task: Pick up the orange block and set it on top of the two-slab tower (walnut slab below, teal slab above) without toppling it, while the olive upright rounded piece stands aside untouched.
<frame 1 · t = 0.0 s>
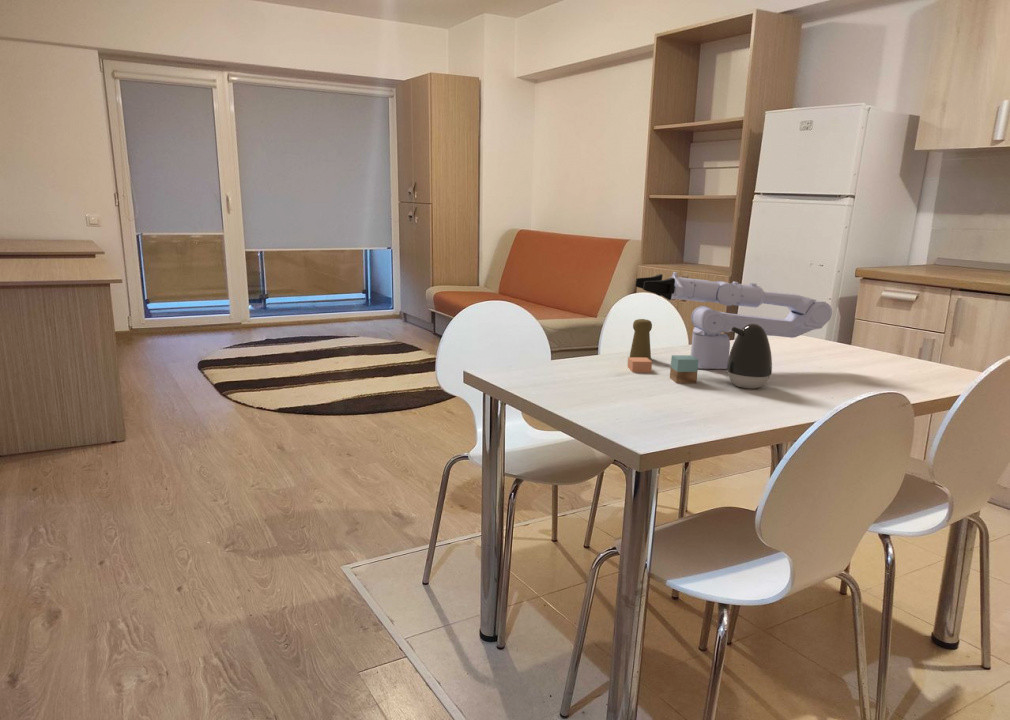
hand: (639, 284, 180), 22 cm above the table, tool horizontal, fingers open, 7 cm apart
teal slab: (683, 369, 169), point 3 cm above the table, touching walnut slab
walnut slab: (682, 381, 170), on the table, touching teal slab
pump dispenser: (746, 387, 166), on the table
olive upright rounded piece: (640, 359, 194), on the table
orange block: (639, 370, 180), on the table
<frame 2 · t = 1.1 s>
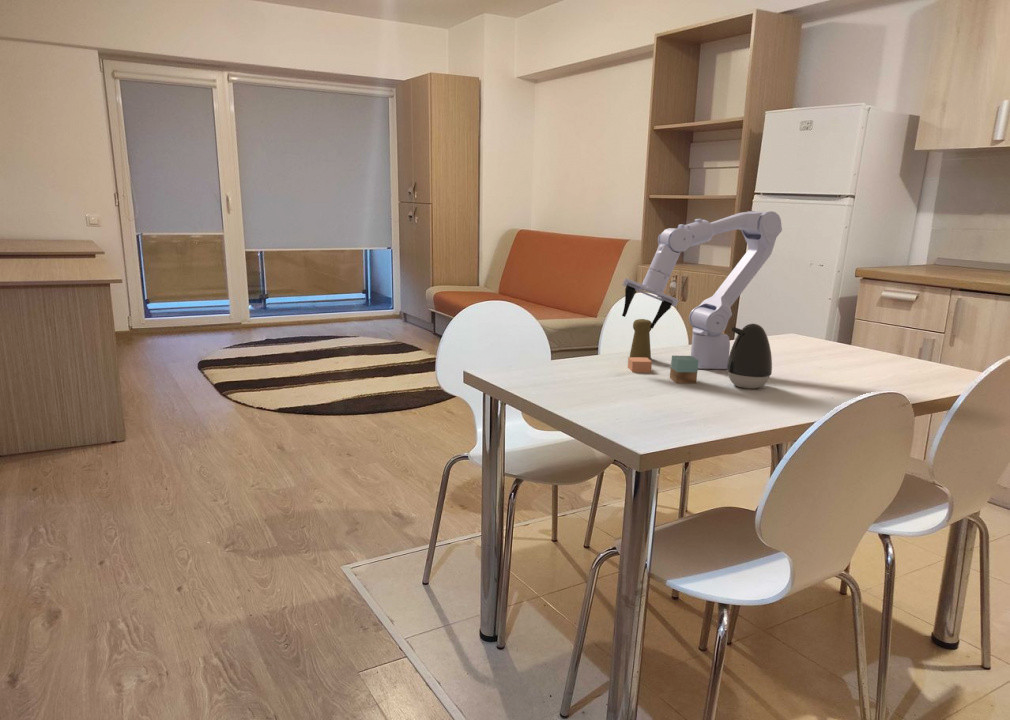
hand: (637, 322, 178), 12 cm above the table, tool tilted 20°, fingers open, 7 cm apart
nothing on the table moved.
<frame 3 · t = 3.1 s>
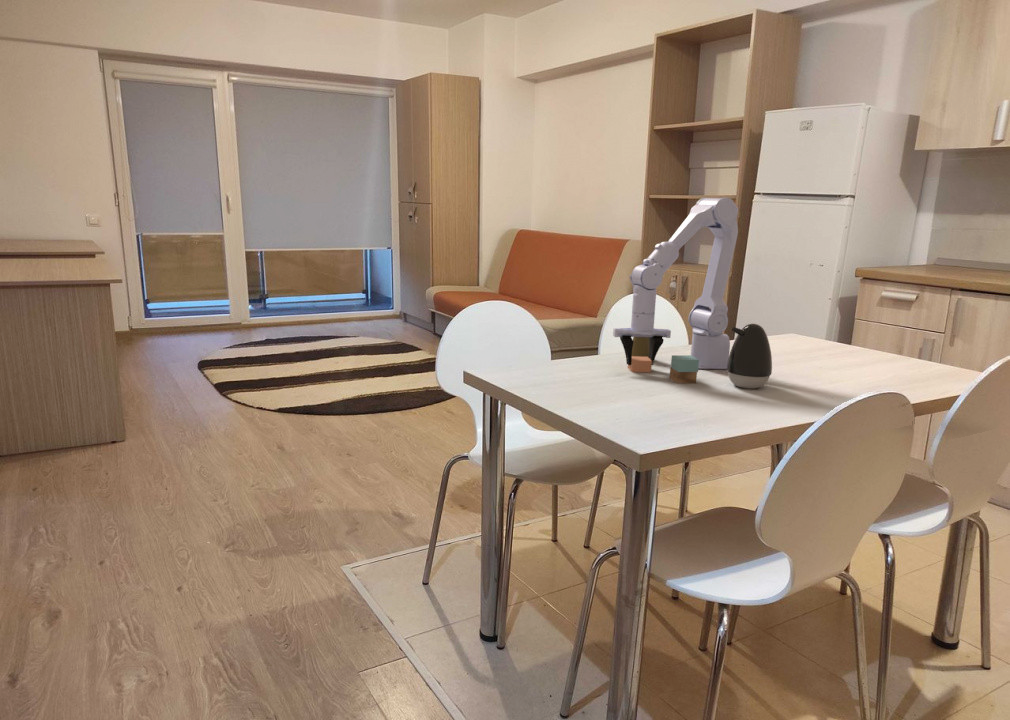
hand: (639, 364, 180), 1 cm above the table, tool pointing down, fingers closed on orange block, 5 cm apart
orange block: (639, 369, 180), on the table, touching gripper
everything else where it was.
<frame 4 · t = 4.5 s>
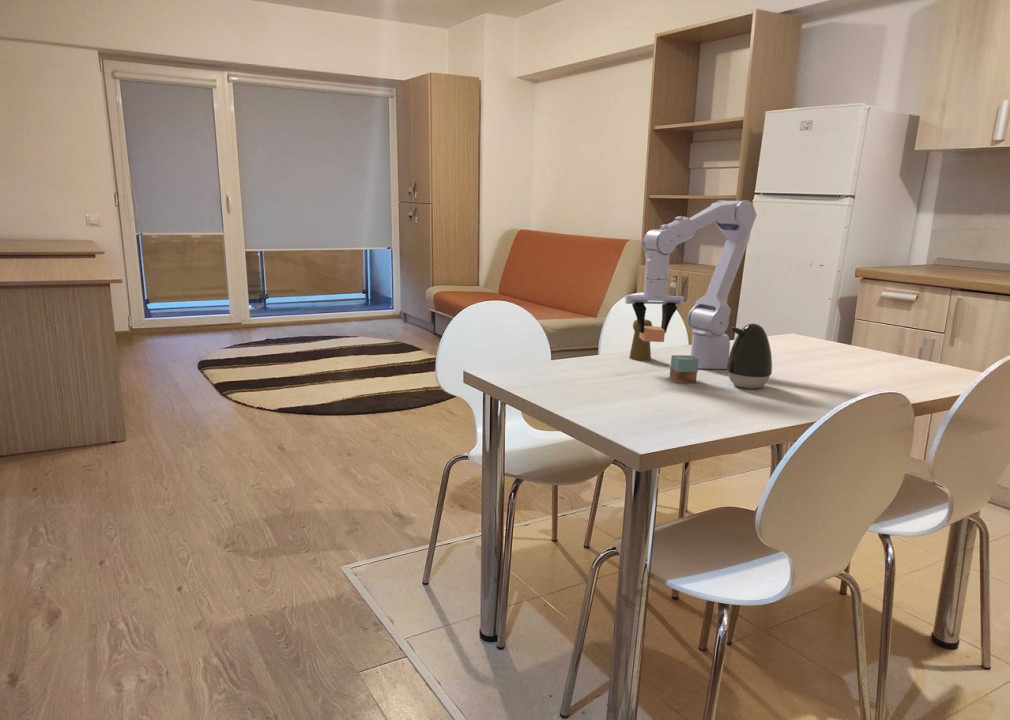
hand: (652, 332, 175), 10 cm above the table, tool pointing down, fingers closed on orange block, 5 cm apart
orange block: (651, 339, 176), point 8 cm above the table, touching gripper
everything else where it was.
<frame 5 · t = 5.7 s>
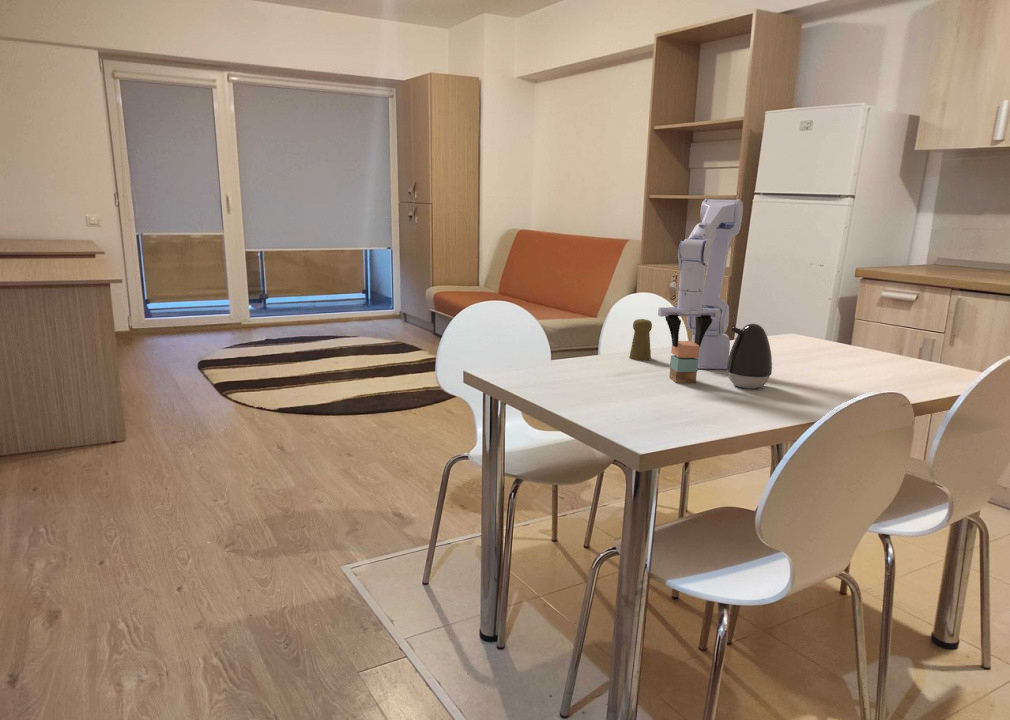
hand: (686, 346, 168), 9 cm above the table, tool pointing down, fingers closed on orange block, 5 cm apart
teal slab: (683, 369, 169), point 3 cm above the table
walnut slab: (682, 381, 170), on the table
orange block: (684, 355, 169), point 6 cm above the table, touching gripper
everything else where it was.
when the fingers open (9 cm above the table, at t = 5.8 s): orange block stays where it is, resting on teal slab.
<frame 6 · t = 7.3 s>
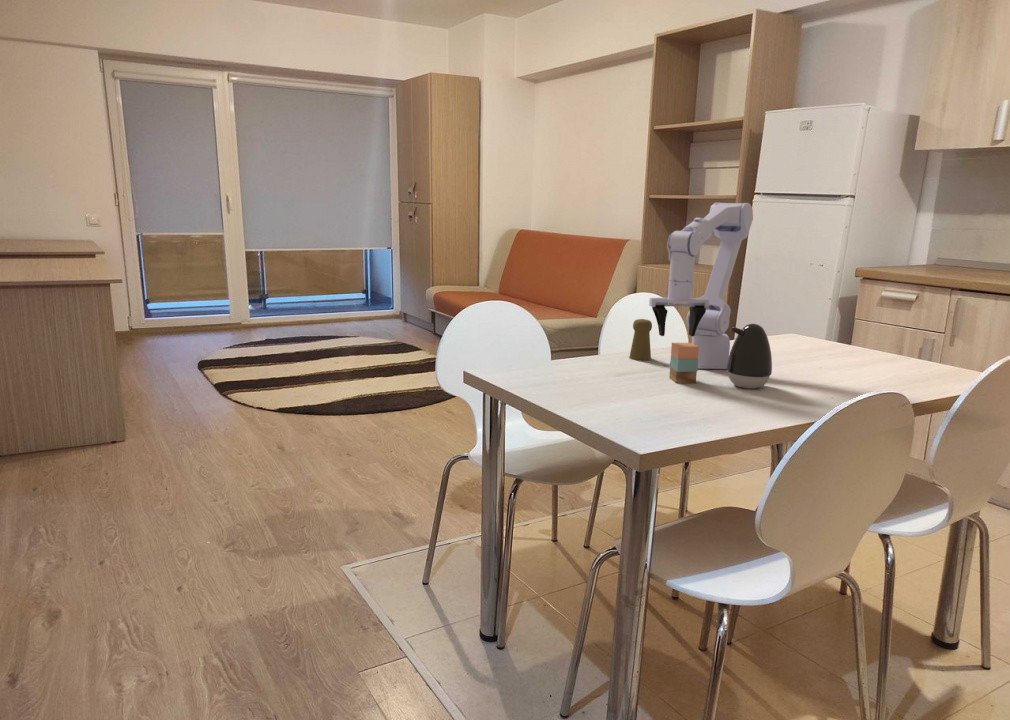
hand: (676, 335, 172), 10 cm above the table, tool pointing down, fingers open, 7 cm apart
teal slab: (683, 369, 169), point 3 cm above the table, touching orange block, walnut slab
walnut slab: (682, 380, 170), on the table, touching teal slab
orange block: (684, 356, 169), point 6 cm above the table, touching teal slab
everything else where it was.
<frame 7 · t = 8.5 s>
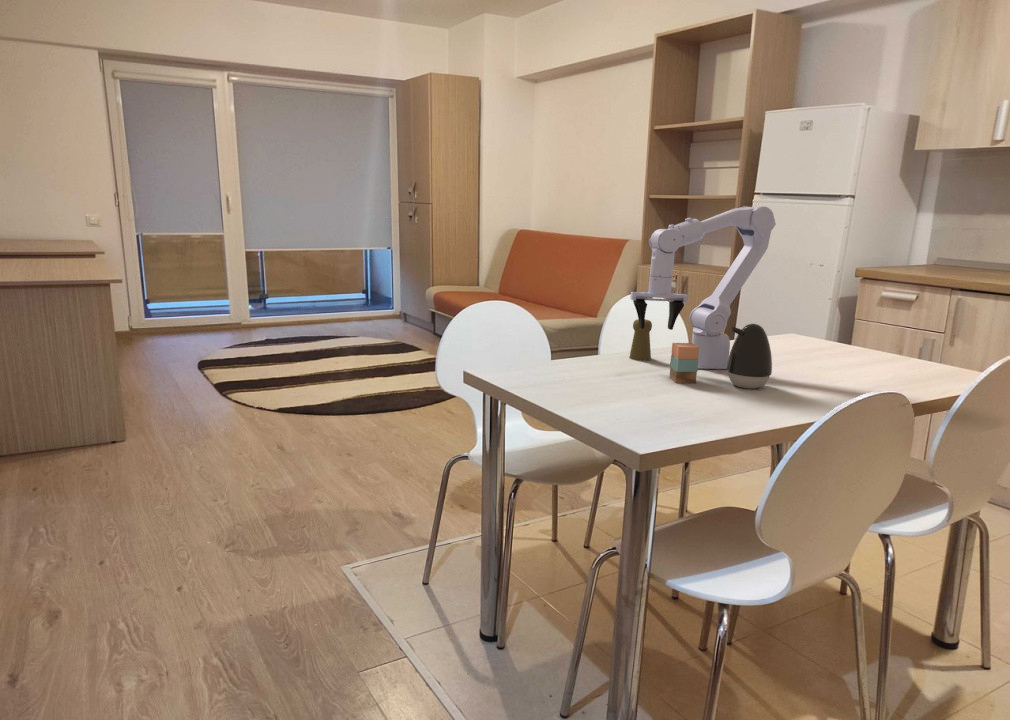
hand: (655, 328, 181), 10 cm above the table, tool pointing down, fingers open, 7 cm apart
nothing on the table moved.
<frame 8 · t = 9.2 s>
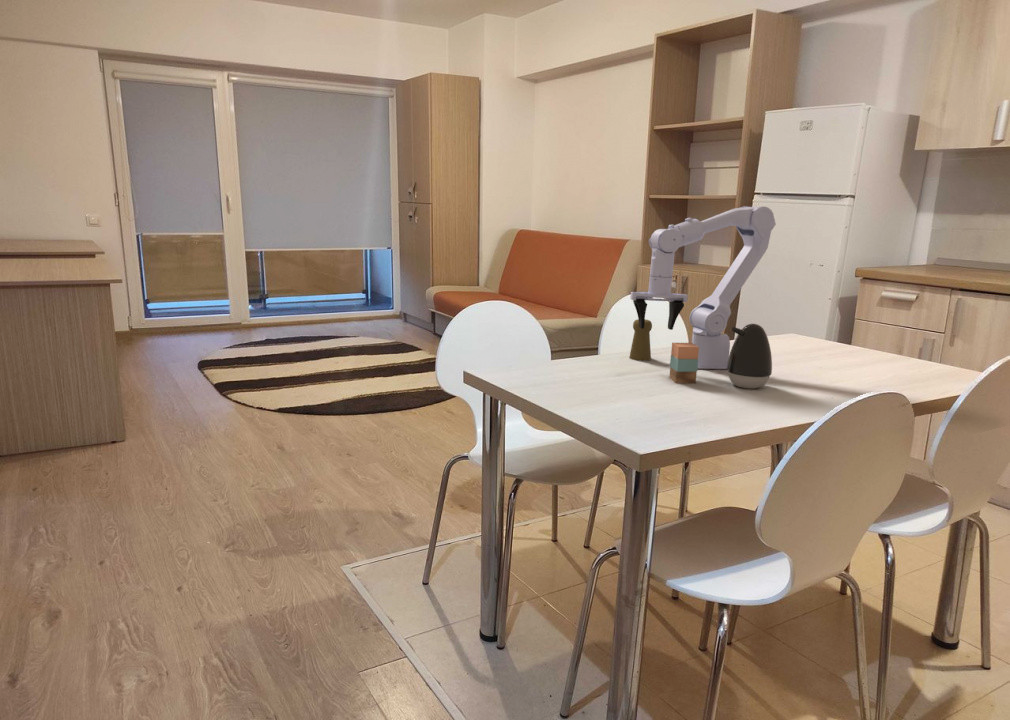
hand: (655, 328, 181), 10 cm above the table, tool pointing down, fingers open, 7 cm apart
nothing on the table moved.
at the end: orange block 0.2 cm off-centre on the walnut slab, point 6.0 cm above the walnut slab's base; teal slab 0.2 cm off-centre on the walnut slab, point 3.0 cm above the walnut slab's base; orange block tilted 0° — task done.
